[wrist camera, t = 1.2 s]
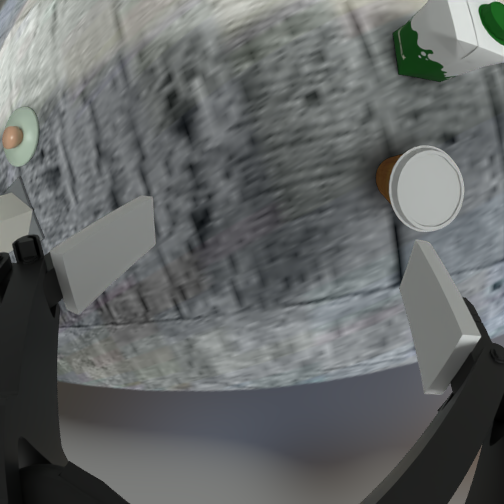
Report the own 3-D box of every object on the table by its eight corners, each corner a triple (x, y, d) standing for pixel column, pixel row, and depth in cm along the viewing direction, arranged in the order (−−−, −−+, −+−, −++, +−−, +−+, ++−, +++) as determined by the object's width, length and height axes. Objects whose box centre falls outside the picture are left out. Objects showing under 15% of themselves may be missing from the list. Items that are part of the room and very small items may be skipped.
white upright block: (6, 225, 48) (-30, 240, 38) (11, 192, 45) (-27, 204, 35) (26, 243, 48) (-10, 262, 38) (32, 209, 46) (-8, 225, 35)
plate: (1, 130, 42) (-1, 130, 41) (31, 95, 39) (28, 94, 38) (14, 176, 45) (12, 177, 44) (45, 144, 42) (43, 145, 41)
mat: (-3, 203, 47) (-5, 203, 47) (20, 176, 44) (18, 176, 44) (19, 258, 51) (17, 259, 50) (45, 237, 48) (43, 238, 47)
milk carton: (445, 88, 32) (530, 65, 13) (392, 79, 33) (463, 36, 14) (437, 37, 29) (509, -7, 10) (385, 26, 30) (440, -38, 11)
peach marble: (11, 134, 41) (0, 135, 38) (21, 121, 40) (11, 121, 37) (15, 151, 42) (5, 153, 39) (27, 139, 41) (16, 140, 38)
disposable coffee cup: (432, 198, 38) (474, 217, 26) (377, 221, 40) (407, 247, 29) (412, 136, 35) (453, 135, 24) (354, 158, 38) (380, 161, 26)
